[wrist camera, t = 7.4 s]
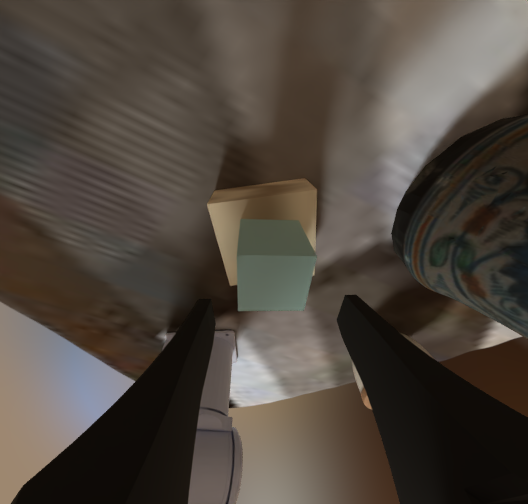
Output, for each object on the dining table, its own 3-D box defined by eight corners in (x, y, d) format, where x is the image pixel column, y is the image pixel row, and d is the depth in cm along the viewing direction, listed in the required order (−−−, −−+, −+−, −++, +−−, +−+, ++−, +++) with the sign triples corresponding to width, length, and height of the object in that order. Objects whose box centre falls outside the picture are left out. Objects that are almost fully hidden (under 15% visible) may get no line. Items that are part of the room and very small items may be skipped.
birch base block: (233, 261, 22) (230, 285, 18) (215, 189, 17) (206, 204, 14) (304, 252, 22) (314, 275, 18) (304, 177, 17) (317, 189, 14)
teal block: (241, 266, 17) (238, 311, 13) (240, 218, 15) (236, 255, 11) (291, 266, 18) (303, 310, 13) (298, 220, 15) (317, 256, 11)
